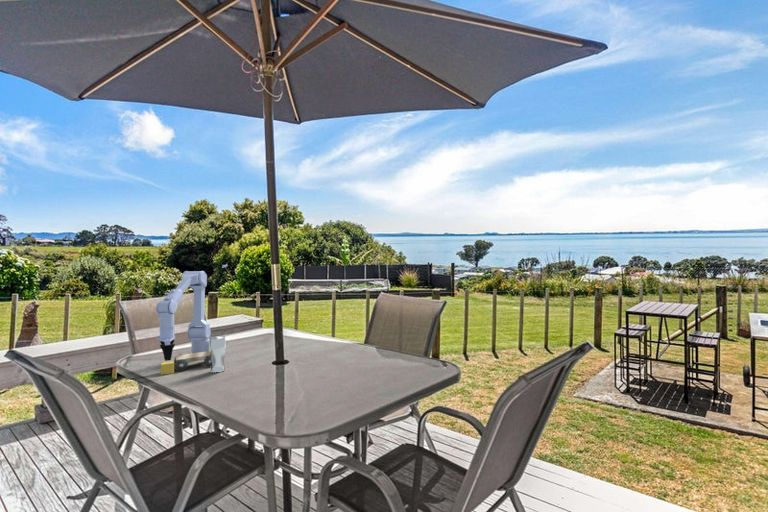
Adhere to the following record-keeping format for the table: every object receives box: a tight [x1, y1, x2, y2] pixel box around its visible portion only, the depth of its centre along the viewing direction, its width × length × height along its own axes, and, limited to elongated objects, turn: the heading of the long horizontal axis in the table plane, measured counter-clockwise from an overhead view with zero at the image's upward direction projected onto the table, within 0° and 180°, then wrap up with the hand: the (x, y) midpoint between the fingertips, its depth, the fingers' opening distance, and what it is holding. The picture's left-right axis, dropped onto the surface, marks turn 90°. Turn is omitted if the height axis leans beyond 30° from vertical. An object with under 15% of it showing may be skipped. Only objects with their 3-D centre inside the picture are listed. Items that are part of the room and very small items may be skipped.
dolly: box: [173, 351, 211, 372], centre depth 182 cm, size 17×12×10 cm
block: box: [160, 360, 175, 376], centre depth 172 cm, size 5×4×4 cm
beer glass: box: [208, 335, 227, 374], centre depth 173 cm, size 7×7×15 cm
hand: (167, 358), depth 172 cm, fingers open, 7 cm apart
